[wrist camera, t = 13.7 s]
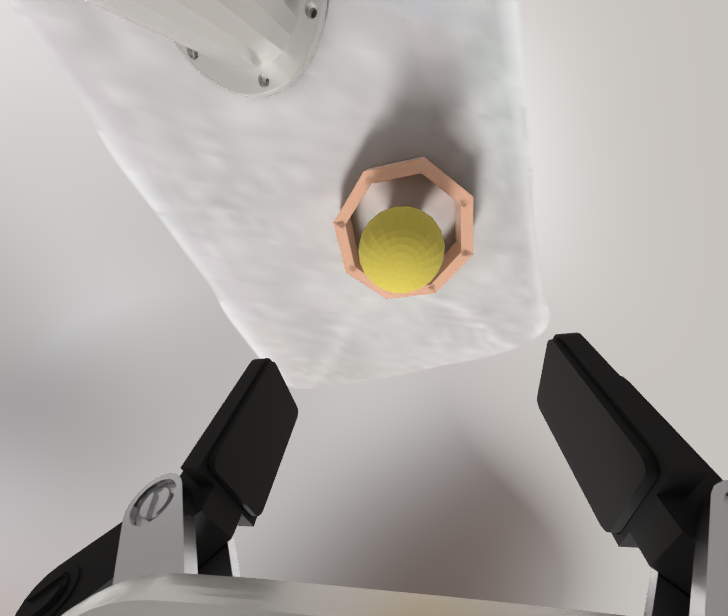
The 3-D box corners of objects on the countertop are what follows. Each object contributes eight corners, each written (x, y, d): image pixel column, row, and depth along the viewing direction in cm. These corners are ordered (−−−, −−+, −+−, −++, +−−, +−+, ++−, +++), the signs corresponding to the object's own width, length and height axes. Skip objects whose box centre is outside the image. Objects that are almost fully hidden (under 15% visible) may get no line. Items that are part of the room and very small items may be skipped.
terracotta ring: (330, 176, 25) (322, 180, 23) (465, 146, 23) (473, 147, 20) (357, 289, 31) (353, 302, 28) (466, 275, 29) (473, 288, 26)
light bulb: (360, 201, 26) (340, 229, 17) (431, 185, 24) (447, 206, 16) (375, 265, 29) (364, 314, 21) (438, 254, 28) (454, 302, 19)
